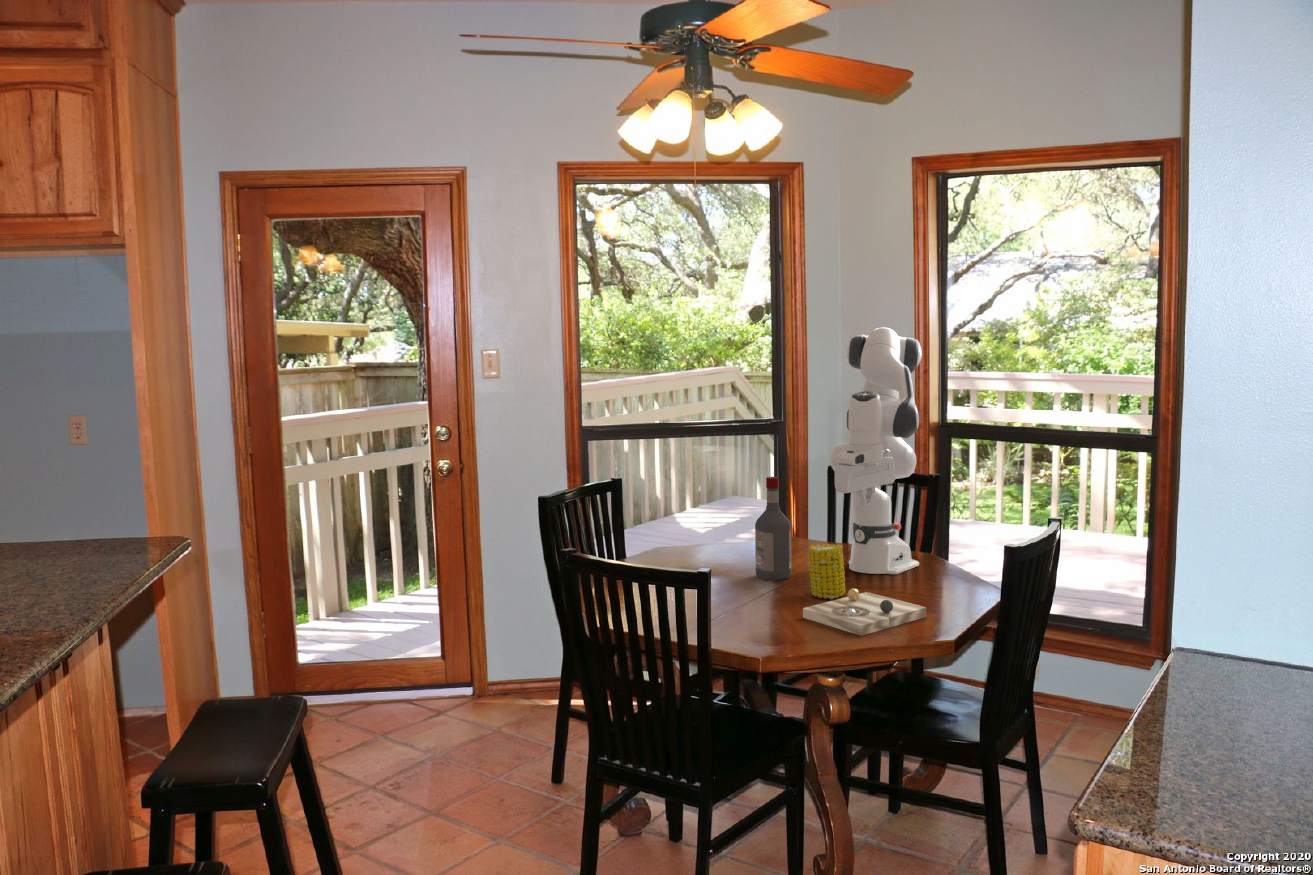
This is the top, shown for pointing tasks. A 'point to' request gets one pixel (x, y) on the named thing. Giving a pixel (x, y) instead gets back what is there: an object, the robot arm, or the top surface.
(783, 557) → the liquor
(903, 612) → the board
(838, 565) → the food
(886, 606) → the dark grey ball
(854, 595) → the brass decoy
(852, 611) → the steel ball
